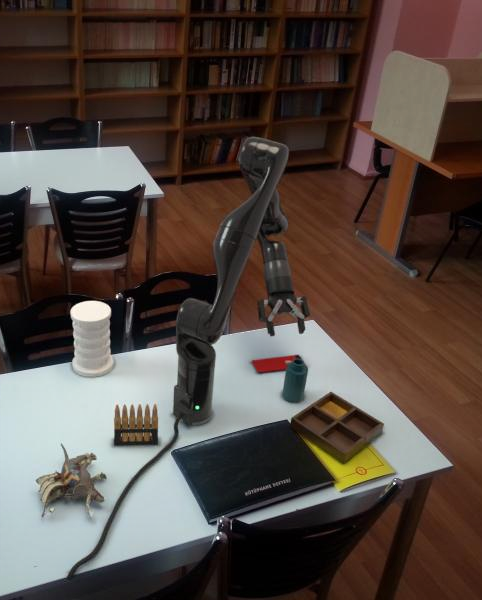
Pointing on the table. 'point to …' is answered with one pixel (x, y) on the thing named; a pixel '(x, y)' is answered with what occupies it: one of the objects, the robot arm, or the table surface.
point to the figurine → (71, 482)
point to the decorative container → (91, 338)
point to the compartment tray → (336, 426)
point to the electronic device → (274, 363)
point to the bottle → (295, 381)
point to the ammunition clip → (135, 427)
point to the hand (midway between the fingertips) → (287, 334)
